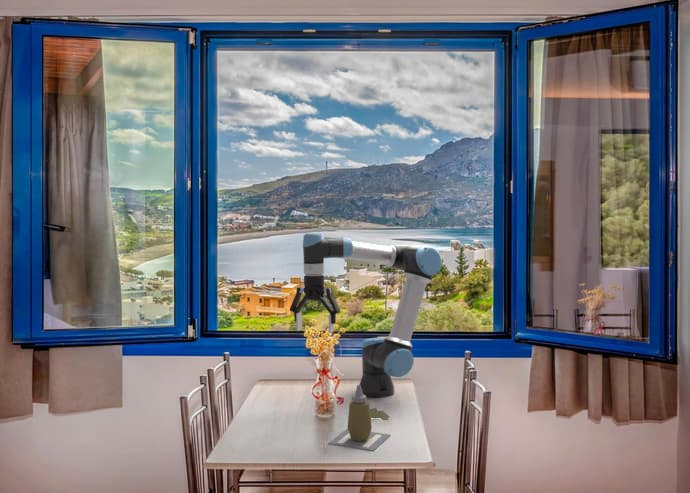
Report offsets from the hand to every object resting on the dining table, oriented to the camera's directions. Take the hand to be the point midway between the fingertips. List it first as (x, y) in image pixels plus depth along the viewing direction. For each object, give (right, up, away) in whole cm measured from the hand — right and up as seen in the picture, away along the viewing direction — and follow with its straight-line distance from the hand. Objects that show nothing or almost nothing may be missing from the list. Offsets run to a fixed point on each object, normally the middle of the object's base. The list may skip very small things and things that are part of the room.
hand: (315, 331), depth 225 cm
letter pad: (+16, -33, -25) cm, 44 cm away
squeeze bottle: (+16, -32, -25) cm, 44 cm away
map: (+23, -32, -3) cm, 39 cm away
